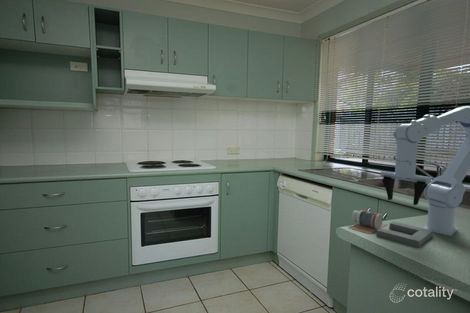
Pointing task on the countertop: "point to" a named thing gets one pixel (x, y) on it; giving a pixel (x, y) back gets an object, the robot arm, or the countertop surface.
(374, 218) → the pill bottle
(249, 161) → the countertop surface
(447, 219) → the robot arm
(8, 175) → the countertop surface
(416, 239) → the socket dock
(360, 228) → the rubber pad
